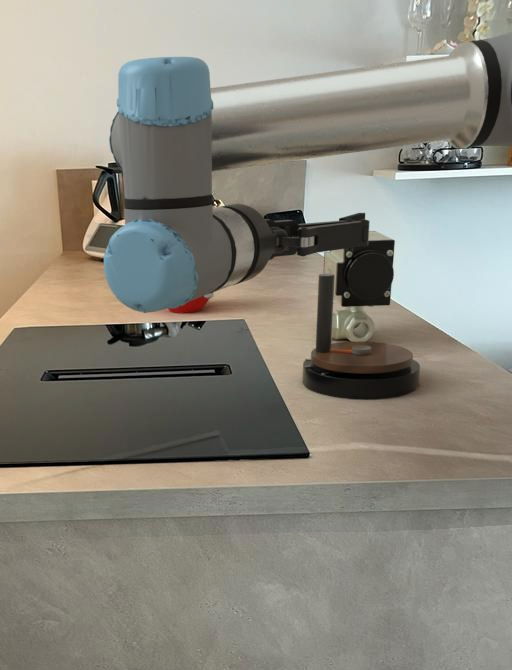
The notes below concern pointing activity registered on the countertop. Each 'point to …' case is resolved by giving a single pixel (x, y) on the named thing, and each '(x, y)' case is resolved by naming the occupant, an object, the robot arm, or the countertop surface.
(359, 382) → the disc
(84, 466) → the countertop surface
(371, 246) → the ball valve
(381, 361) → the pointer wheel
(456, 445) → the countertop surface
